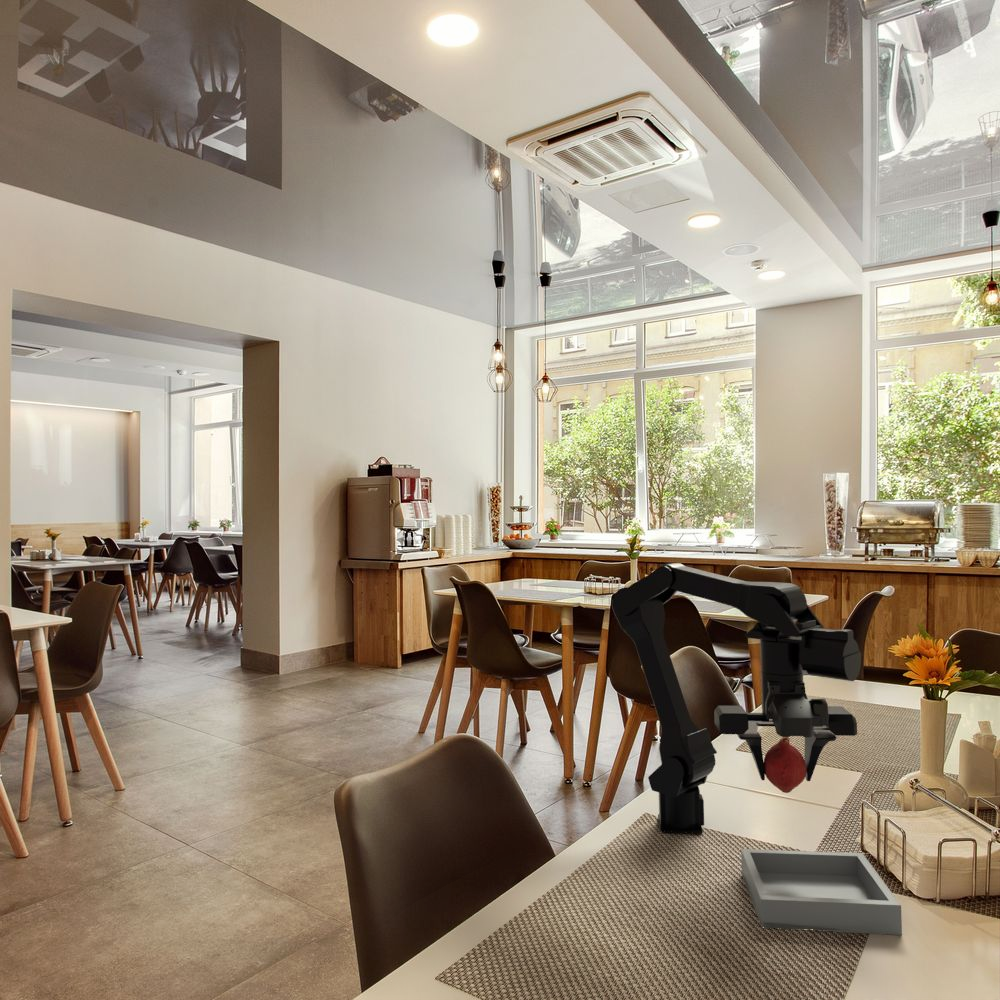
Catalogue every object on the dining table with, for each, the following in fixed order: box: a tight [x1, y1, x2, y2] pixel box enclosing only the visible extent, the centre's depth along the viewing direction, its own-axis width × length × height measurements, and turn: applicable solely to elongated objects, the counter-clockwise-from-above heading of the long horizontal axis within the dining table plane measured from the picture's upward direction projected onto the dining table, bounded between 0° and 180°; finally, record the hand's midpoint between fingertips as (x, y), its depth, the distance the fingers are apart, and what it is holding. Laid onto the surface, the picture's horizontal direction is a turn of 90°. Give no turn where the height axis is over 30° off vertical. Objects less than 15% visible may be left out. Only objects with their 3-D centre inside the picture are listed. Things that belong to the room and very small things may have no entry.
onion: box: [763, 737, 807, 794], centre depth 112 cm, size 6×6×8 cm
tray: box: [740, 848, 903, 936], centre depth 100 cm, size 16×14×4 cm
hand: (785, 779), depth 112 cm, fingers closed on onion, 6 cm apart
